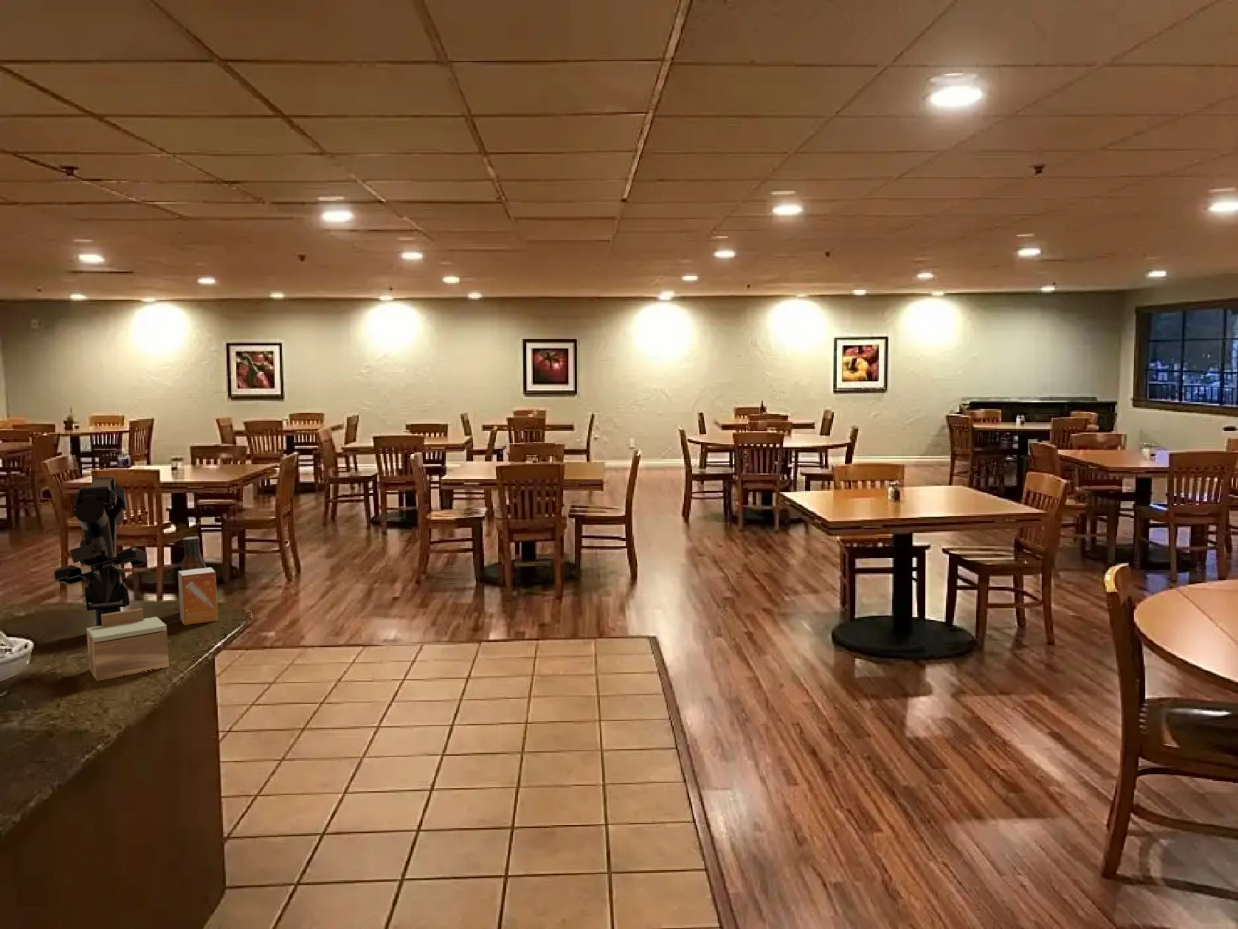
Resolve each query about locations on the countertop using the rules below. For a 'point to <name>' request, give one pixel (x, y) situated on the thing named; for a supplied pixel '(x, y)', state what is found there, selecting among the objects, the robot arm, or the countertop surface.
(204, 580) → the small box
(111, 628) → the lid
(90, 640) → the box
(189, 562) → the sauce bottle
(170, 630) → the countertop surface
